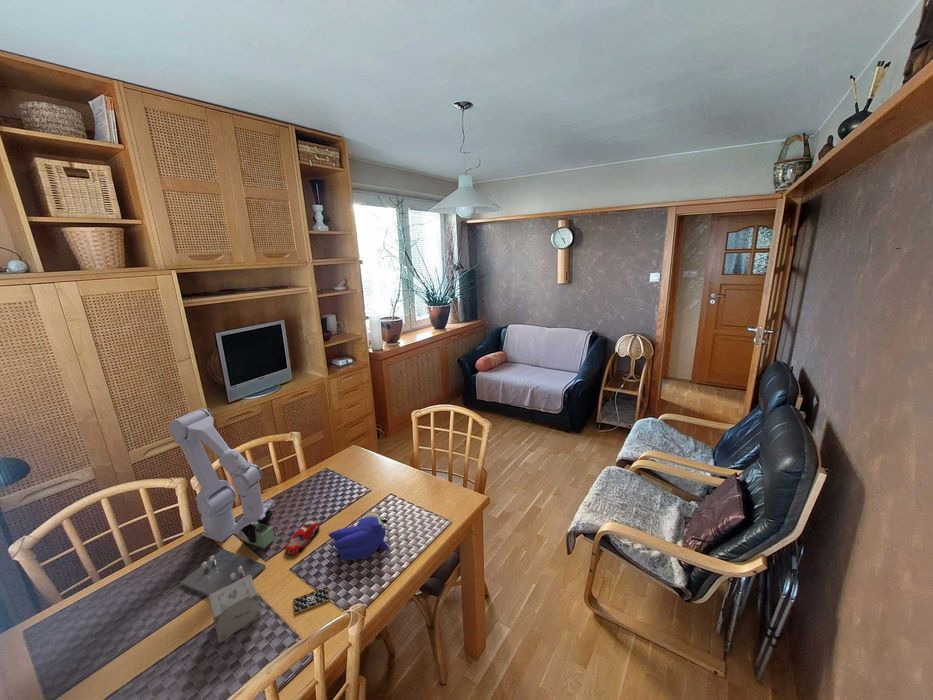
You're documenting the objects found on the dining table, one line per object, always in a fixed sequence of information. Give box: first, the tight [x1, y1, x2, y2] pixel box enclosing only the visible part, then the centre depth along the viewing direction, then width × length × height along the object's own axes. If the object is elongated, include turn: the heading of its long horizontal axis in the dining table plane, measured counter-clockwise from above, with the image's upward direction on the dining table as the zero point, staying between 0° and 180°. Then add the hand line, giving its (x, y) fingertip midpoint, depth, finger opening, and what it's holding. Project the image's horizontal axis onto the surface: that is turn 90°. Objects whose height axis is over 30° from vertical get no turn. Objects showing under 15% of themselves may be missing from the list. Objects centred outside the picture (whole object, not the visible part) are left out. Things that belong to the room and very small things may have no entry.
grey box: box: [208, 575, 263, 644], centre depth 94 cm, size 10×8×10 cm
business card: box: [292, 585, 331, 616], centre depth 101 cm, size 9×1×5 cm
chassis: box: [180, 549, 266, 598], centre depth 109 cm, size 18×13×4 cm
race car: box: [284, 520, 321, 556], centre depth 122 cm, size 13×5×4 cm, turn 163°
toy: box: [328, 512, 391, 561], centre depth 119 cm, size 10×17×15 cm
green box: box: [241, 521, 275, 549], centre depth 122 cm, size 9×4×6 cm, turn 70°
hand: (258, 536), depth 122 cm, fingers closed on green box, 4 cm apart
